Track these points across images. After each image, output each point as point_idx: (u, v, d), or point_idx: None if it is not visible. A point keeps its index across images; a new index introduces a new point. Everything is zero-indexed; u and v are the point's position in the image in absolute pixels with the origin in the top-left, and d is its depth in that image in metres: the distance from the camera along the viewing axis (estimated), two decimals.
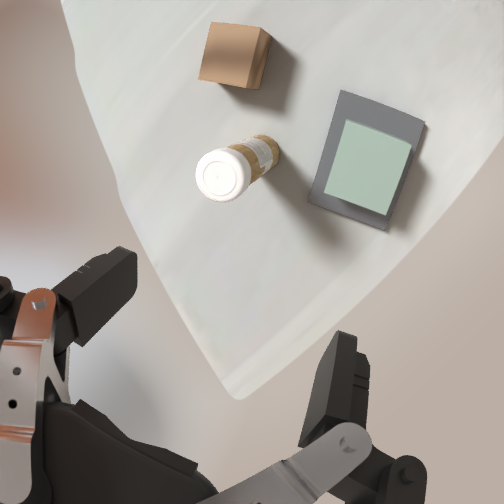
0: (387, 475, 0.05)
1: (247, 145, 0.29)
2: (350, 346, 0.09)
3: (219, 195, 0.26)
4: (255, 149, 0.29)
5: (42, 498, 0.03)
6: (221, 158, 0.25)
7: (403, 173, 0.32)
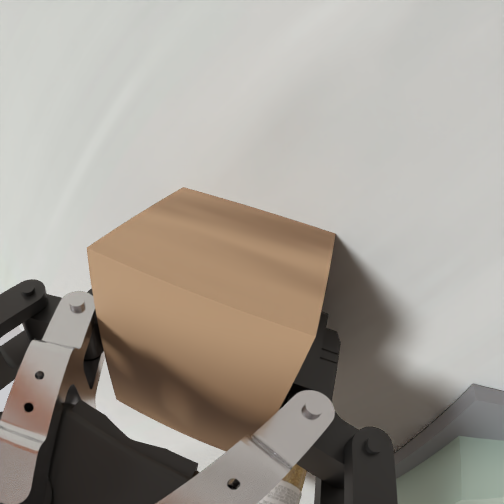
0: (350, 449, 0.06)
1: None
2: (320, 321, 0.10)
3: None
4: None
5: (40, 503, 0.03)
6: None
7: None
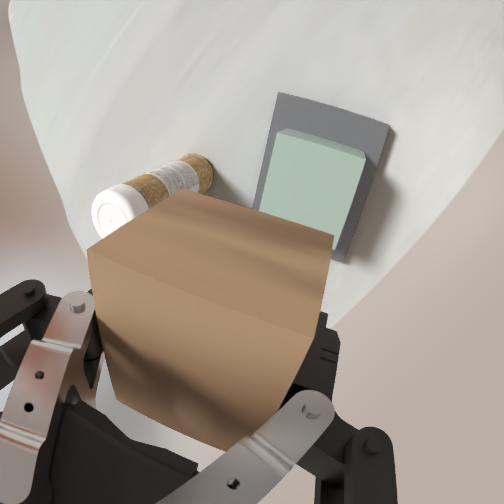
0: (350, 449, 0.06)
1: (156, 174, 0.24)
2: (320, 321, 0.10)
3: None
4: (167, 178, 0.24)
5: (40, 503, 0.03)
6: (110, 199, 0.20)
7: (363, 193, 0.27)
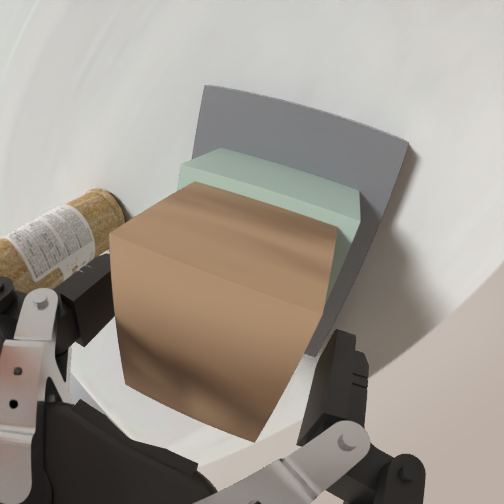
0: (385, 473, 0.06)
1: (15, 240, 0.13)
2: (349, 345, 0.09)
3: None
4: (30, 244, 0.13)
5: (42, 498, 0.03)
6: None
7: (353, 262, 0.16)
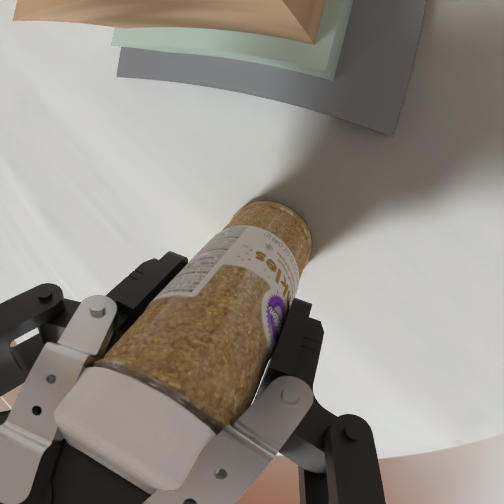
0: (329, 438, 0.06)
1: None
2: (303, 311, 0.10)
3: None
4: (163, 289, 0.10)
5: None
6: None
7: None
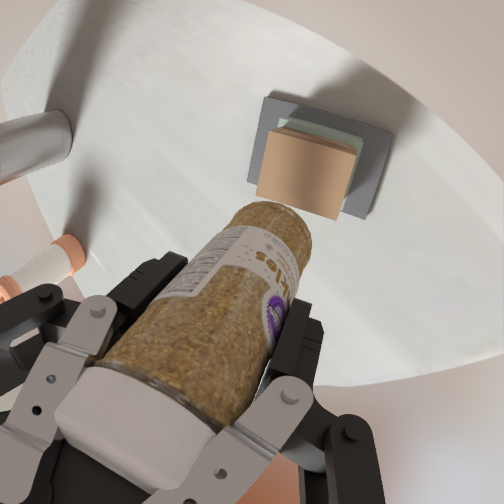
0: (329, 438, 0.06)
1: None
2: (303, 311, 0.10)
3: None
4: None
5: None
6: None
7: (324, 115, 0.29)
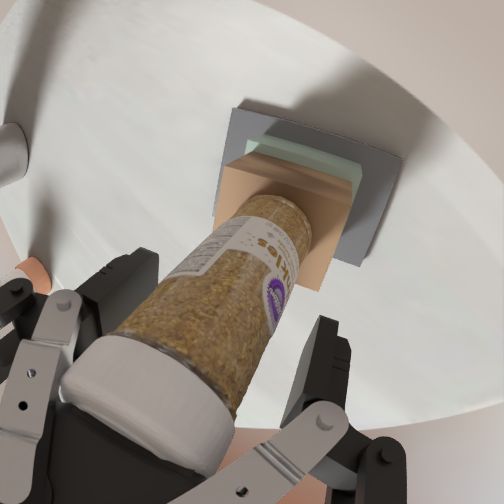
0: (364, 458, 0.06)
1: None
2: (331, 329, 0.10)
3: None
4: None
5: (41, 501, 0.03)
6: None
7: (311, 133, 0.23)
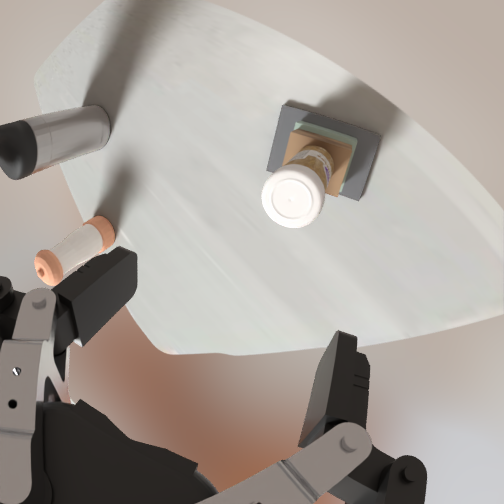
0: (387, 475, 0.05)
1: None
2: (350, 346, 0.09)
3: (312, 201, 0.22)
4: None
5: (42, 498, 0.03)
6: (268, 193, 0.22)
7: (328, 121, 0.39)
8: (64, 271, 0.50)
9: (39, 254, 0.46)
